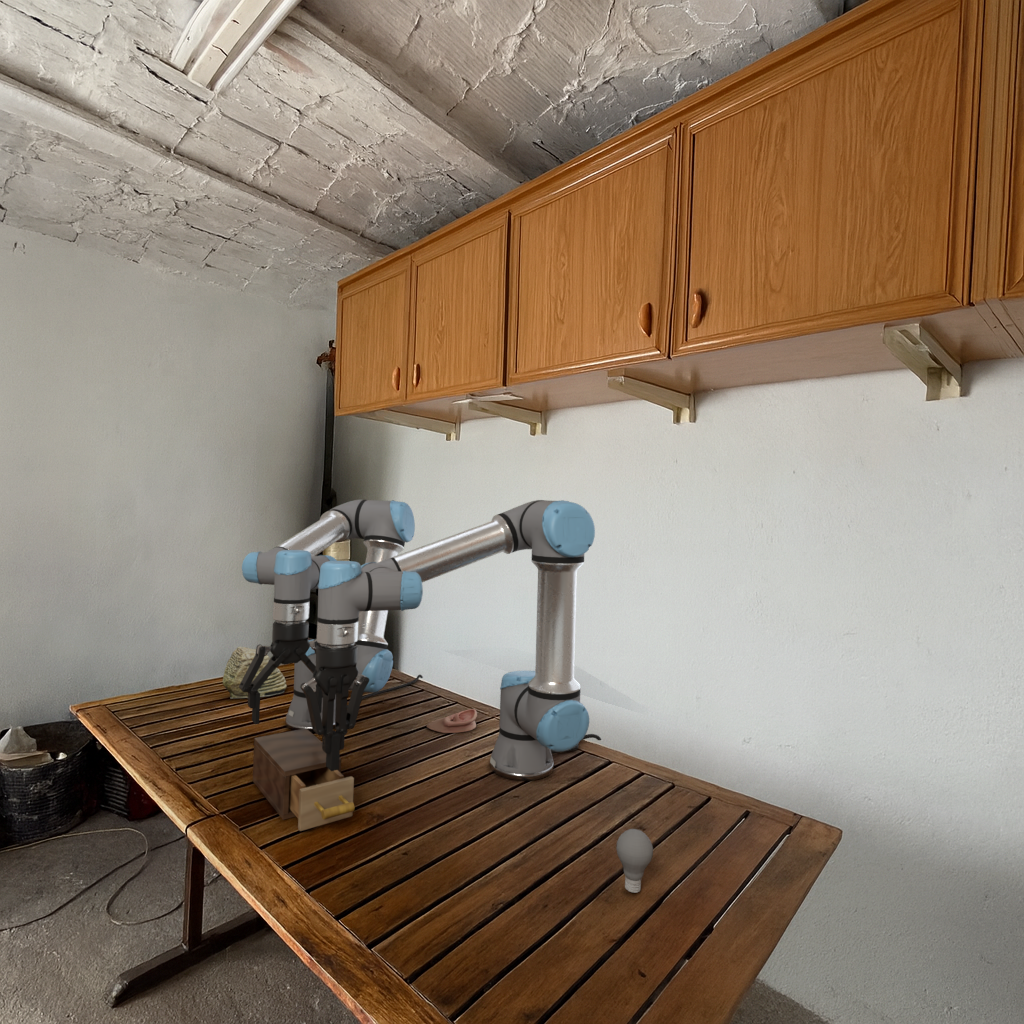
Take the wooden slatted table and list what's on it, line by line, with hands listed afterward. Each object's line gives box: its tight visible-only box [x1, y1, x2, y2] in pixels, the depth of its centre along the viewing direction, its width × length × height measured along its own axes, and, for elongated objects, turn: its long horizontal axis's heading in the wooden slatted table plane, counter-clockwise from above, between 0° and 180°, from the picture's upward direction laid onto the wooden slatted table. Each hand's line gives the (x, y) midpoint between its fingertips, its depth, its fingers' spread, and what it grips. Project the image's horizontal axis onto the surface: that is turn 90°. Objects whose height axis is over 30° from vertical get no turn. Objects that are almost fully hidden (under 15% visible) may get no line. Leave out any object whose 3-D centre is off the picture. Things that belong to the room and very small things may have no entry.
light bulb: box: [615, 828, 654, 894], centre depth 106 cm, size 6×6×10 cm
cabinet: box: [252, 728, 342, 821], centre depth 135 cm, size 20×12×10 cm, turn 38°
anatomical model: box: [426, 708, 478, 734], centre depth 178 cm, size 13×4×12 cm
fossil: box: [222, 646, 288, 699], centre depth 198 cm, size 9×18×15 cm, turn 132°
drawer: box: [289, 767, 356, 832], centre depth 126 cm, size 24×10×8 cm, turn 38°
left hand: (287, 716), depth 140 cm, fingers open, 13 cm apart
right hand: (332, 767), depth 120 cm, fingers closed
